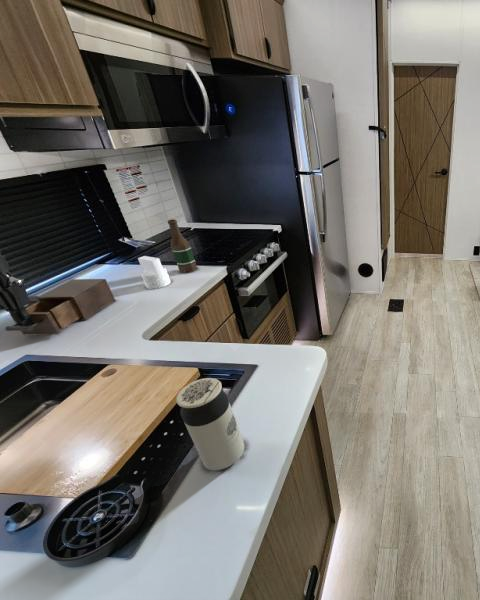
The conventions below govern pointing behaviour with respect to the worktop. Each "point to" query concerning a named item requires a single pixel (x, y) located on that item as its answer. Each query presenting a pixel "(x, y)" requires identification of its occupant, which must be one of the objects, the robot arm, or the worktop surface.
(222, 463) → the travel mug
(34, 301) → the dark grey rectangular block
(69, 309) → the drawer
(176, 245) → the beer bottle
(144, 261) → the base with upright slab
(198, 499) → the worktop surface
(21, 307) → the robot arm
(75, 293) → the cabinet
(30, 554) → the worktop surface
